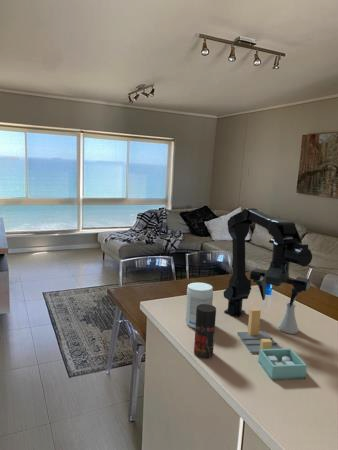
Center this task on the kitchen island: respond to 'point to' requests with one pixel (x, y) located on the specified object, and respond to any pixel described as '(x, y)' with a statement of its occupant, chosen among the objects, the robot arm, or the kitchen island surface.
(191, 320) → the supplement tub
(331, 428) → the kitchen island surface
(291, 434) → the kitchen island surface
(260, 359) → the tub
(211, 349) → the deodorant
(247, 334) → the gray board with blocks
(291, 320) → the flask
